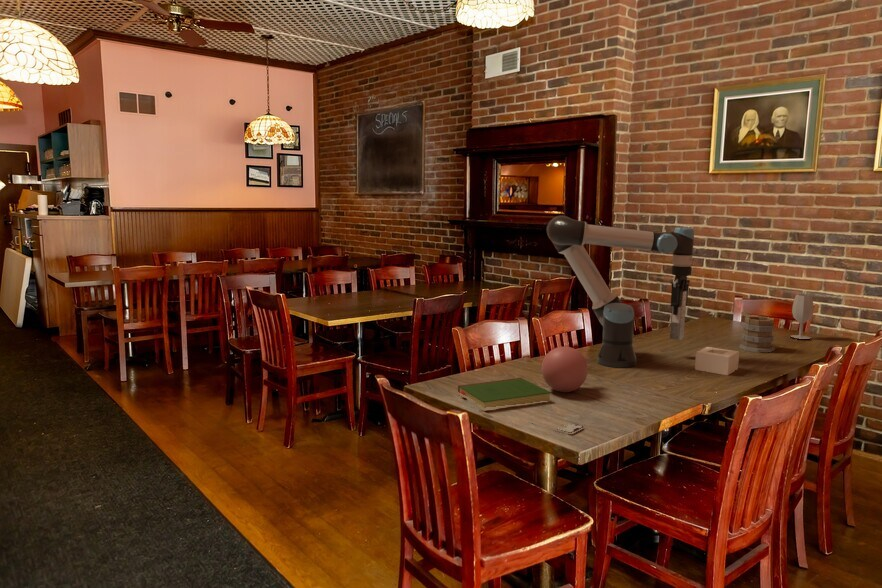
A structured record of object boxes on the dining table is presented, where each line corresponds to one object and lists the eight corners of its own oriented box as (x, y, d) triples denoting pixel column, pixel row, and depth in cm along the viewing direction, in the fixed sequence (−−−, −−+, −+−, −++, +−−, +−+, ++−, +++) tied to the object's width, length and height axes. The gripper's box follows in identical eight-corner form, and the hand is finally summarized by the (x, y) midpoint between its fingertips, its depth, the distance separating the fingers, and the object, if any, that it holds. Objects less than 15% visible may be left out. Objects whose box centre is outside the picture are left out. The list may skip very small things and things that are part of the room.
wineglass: (785, 337, 297) (788, 294, 294) (799, 336, 300) (803, 293, 297) (800, 341, 289) (804, 296, 286) (815, 340, 291) (819, 295, 288)
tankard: (778, 353, 266) (781, 318, 264) (748, 352, 266) (751, 318, 264) (756, 342, 286) (758, 310, 284) (728, 342, 286) (730, 310, 284)
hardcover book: (520, 388, 217) (521, 377, 217) (550, 403, 200) (551, 392, 200) (456, 396, 207) (456, 385, 207) (481, 413, 190) (481, 402, 190)
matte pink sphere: (606, 391, 212) (608, 347, 210) (562, 400, 201) (564, 354, 199) (574, 380, 225) (575, 338, 223) (531, 389, 214) (532, 345, 212)
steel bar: (679, 340, 255) (683, 292, 252) (669, 338, 258) (673, 290, 255) (683, 338, 258) (686, 291, 255) (673, 337, 261) (677, 290, 258)
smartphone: (540, 415, 187) (584, 426, 176) (540, 418, 187) (584, 429, 176) (526, 421, 181) (570, 433, 171) (526, 425, 181) (570, 436, 171)
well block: (727, 375, 231) (728, 357, 230) (694, 369, 239) (695, 351, 238) (737, 369, 240) (739, 351, 239) (706, 363, 248) (707, 346, 247)
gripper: (682, 267, 245) (678, 325, 248) (698, 264, 257) (694, 320, 260) (664, 266, 250) (660, 323, 253) (680, 263, 262) (677, 317, 265)
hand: (677, 321), depth 257 cm, fingers closed on steel bar, 4 cm apart
